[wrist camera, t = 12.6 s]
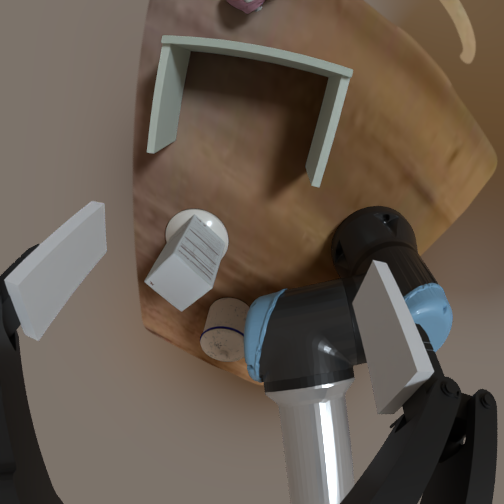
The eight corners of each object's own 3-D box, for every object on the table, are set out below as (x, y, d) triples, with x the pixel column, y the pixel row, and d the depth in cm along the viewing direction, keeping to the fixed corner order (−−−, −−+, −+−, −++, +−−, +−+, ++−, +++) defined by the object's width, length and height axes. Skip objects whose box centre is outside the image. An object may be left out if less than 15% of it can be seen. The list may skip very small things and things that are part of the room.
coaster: (242, 240, 51) (241, 242, 50) (199, 275, 55) (199, 277, 55) (194, 195, 47) (193, 196, 47) (155, 235, 52) (153, 237, 51)
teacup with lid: (205, 322, 62) (193, 365, 52) (212, 290, 57) (199, 334, 47) (260, 336, 63) (256, 380, 53) (273, 305, 58) (271, 351, 48)
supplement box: (198, 266, 54) (180, 313, 43) (168, 238, 51) (141, 281, 40) (227, 242, 51) (214, 289, 40) (195, 212, 48) (172, 252, 37)
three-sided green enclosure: (185, 44, 35) (162, 35, 27) (337, 73, 36) (353, 69, 28) (169, 139, 43) (144, 153, 35) (311, 168, 44) (319, 189, 35)
